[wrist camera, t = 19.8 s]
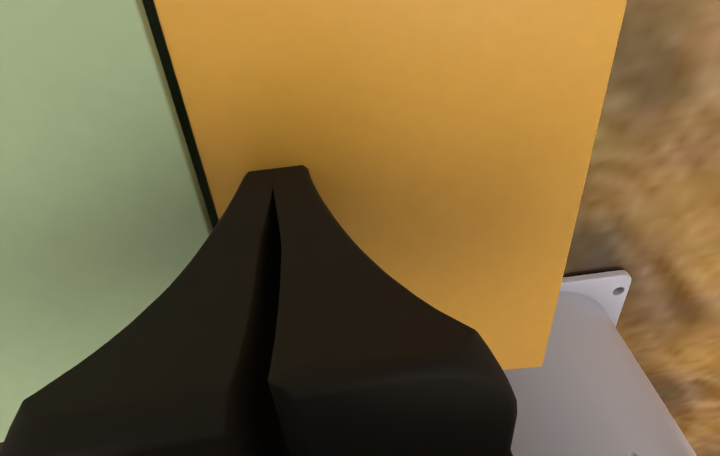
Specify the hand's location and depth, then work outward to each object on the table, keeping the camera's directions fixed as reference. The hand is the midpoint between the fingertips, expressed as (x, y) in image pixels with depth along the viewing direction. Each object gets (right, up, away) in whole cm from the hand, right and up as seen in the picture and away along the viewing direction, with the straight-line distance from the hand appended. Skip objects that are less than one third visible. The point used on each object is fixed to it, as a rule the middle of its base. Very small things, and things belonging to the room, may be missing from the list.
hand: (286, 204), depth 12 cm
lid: (+3, 0, +1) cm, 3 cm away
